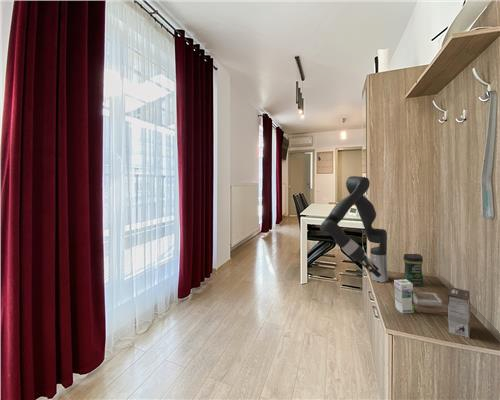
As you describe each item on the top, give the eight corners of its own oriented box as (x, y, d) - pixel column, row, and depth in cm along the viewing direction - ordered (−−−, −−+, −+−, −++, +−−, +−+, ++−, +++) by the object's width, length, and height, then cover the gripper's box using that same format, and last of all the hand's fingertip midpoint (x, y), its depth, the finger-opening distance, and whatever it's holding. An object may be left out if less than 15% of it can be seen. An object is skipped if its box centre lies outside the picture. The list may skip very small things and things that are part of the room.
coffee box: (450, 322, 103) (449, 286, 102) (470, 328, 98) (470, 290, 97) (448, 332, 96) (447, 294, 95) (469, 339, 92) (468, 298, 91)
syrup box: (402, 313, 112) (401, 284, 111) (395, 307, 118) (394, 279, 117) (414, 313, 111) (413, 283, 111) (406, 307, 117) (405, 278, 117)
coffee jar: (407, 286, 140) (406, 256, 139) (401, 281, 147) (401, 252, 146) (426, 287, 138) (425, 255, 137) (419, 281, 145) (418, 252, 145)
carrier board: (406, 293, 131) (406, 290, 131) (436, 296, 126) (436, 293, 126) (416, 311, 113) (416, 308, 113) (453, 315, 107) (452, 312, 107)
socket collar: (411, 296, 124) (411, 291, 124) (434, 298, 121) (434, 293, 120) (417, 305, 115) (417, 299, 115) (442, 308, 111) (442, 302, 111)
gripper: (359, 248, 114) (386, 273, 110) (357, 241, 127) (382, 263, 123) (347, 258, 116) (374, 283, 112) (347, 250, 129) (371, 272, 125)
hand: (378, 273), depth 118 cm, fingers open, 8 cm apart
